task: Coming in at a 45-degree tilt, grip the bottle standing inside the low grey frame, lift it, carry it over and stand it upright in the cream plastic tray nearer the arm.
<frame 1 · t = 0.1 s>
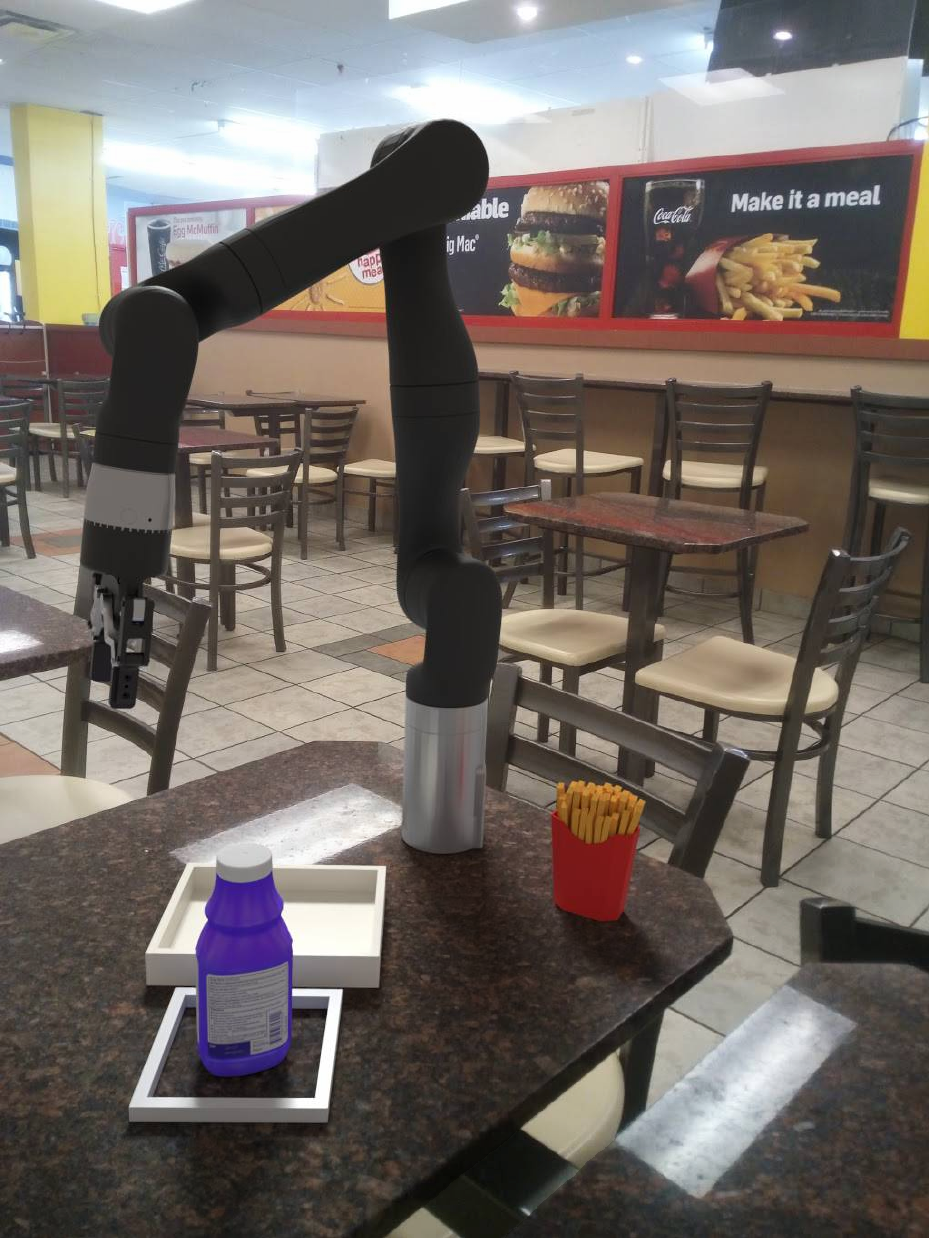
hand: (111, 693, 92), 22 cm above the table, tool pointing down, fingers open, 8 cm apart
french fries: (590, 908, 102), on the table
bottle: (245, 1058, 78), resting in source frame
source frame: (245, 1055, 78), on the table
tray: (276, 935, 94), on the table
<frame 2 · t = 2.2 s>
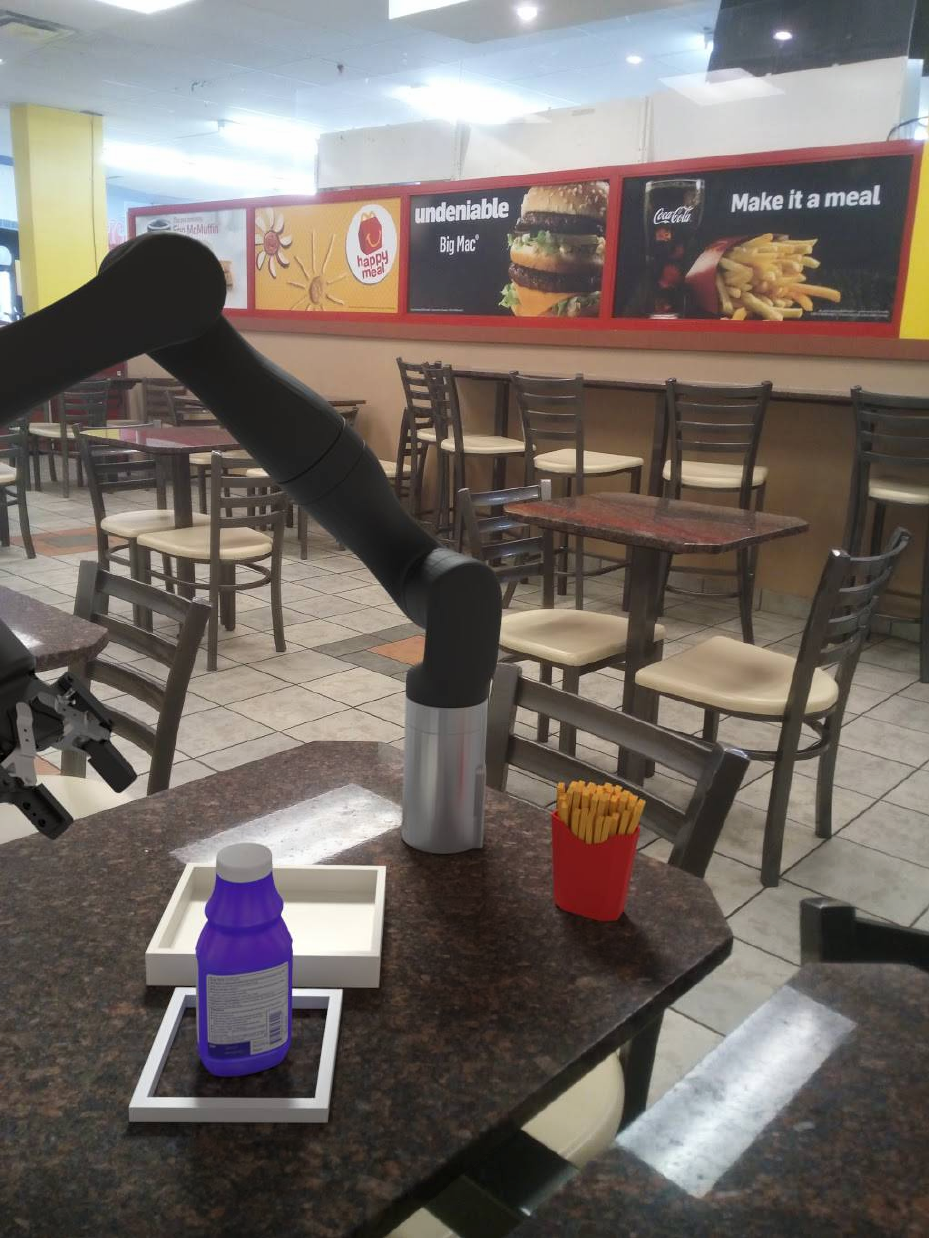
hand: (98, 807, 76), 19 cm above the table, tool tilted 45°, fingers open, 8 cm apart
nothing on the table moved.
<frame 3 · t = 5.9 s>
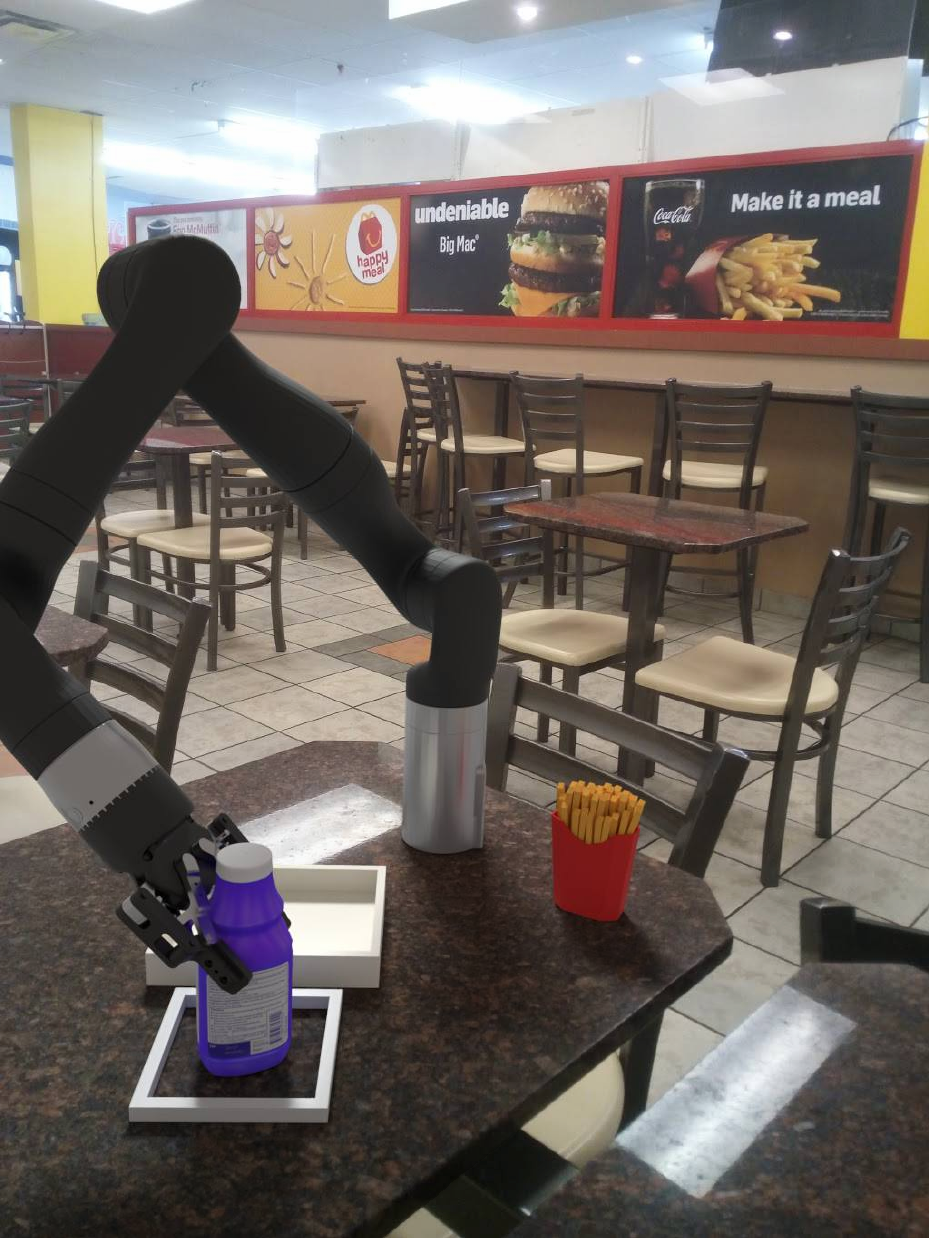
hand: (263, 958, 76), 9 cm above the table, tool tilted 45°, fingers closed on bottle, 6 cm apart
bottle: (245, 1058, 78), resting in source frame, touching gripper
everything else where it was.
when the fingers open (10 cm above the table, at t = 11.8 s): bottle stays where it is, resting on tray.
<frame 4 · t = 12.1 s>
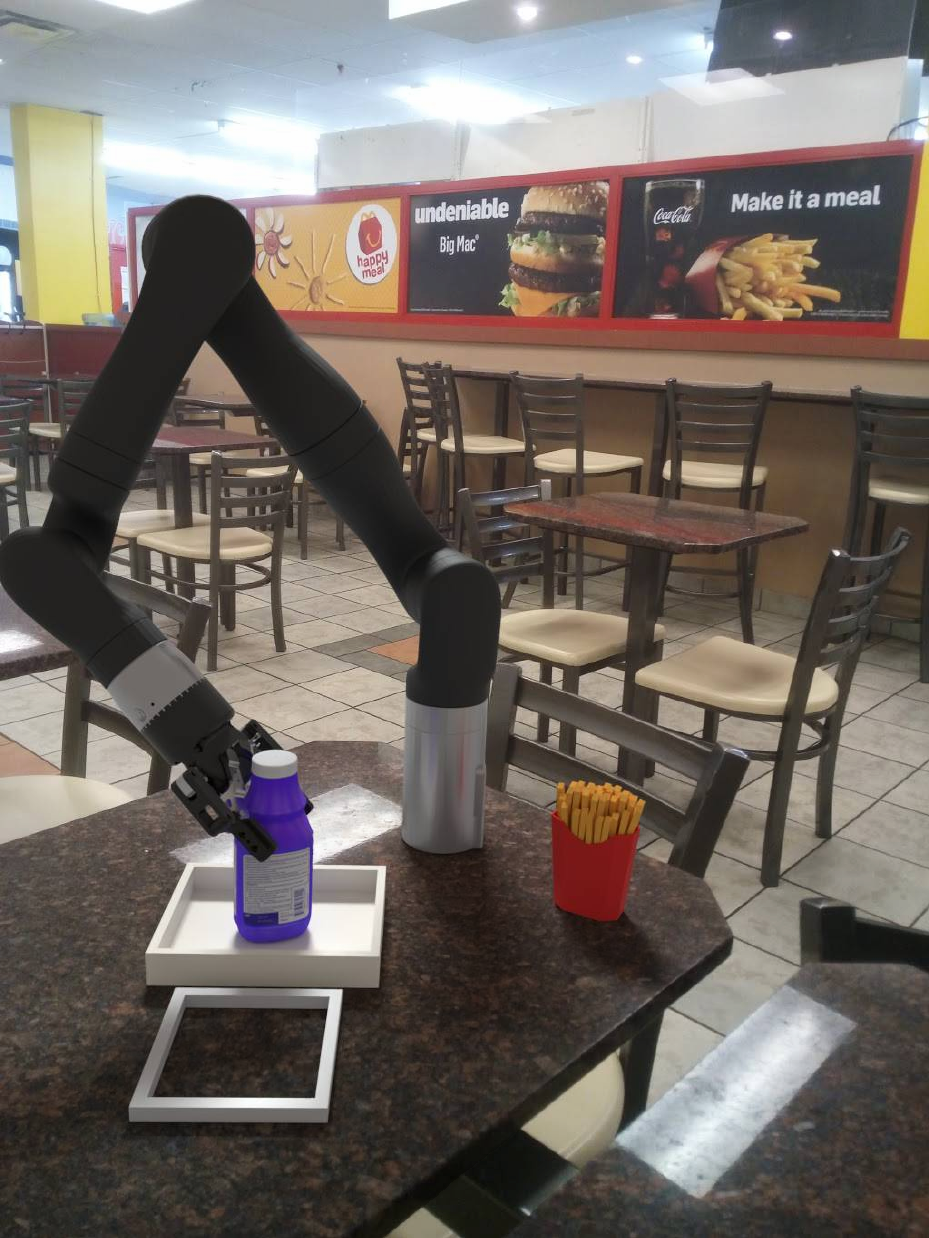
hand: (289, 834, 92), 11 cm above the table, tool tilted 45°, fingers open, 8 cm apart
bottle: (273, 931, 94), resting on tray
everything else where it was.
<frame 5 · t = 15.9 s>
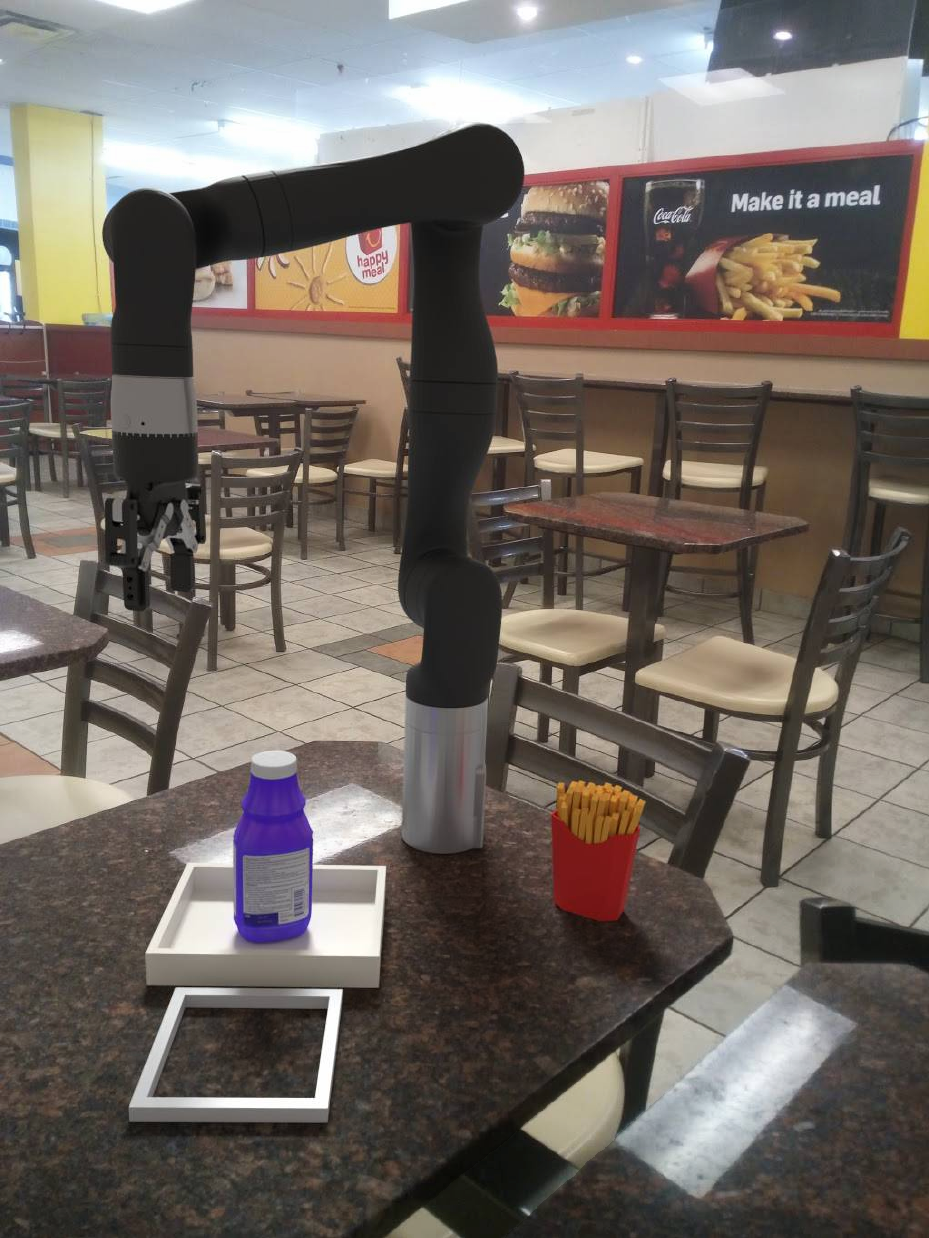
hand: (161, 600, 95), 30 cm above the table, tool pointing down, fingers open, 8 cm apart
nothing on the table moved.
at the end: bottle inside the target area on the tray (0.3 cm from its centre), point 0.4 cm above the tray's base; bottle tilted 0°; the gripper is holding nothing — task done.
